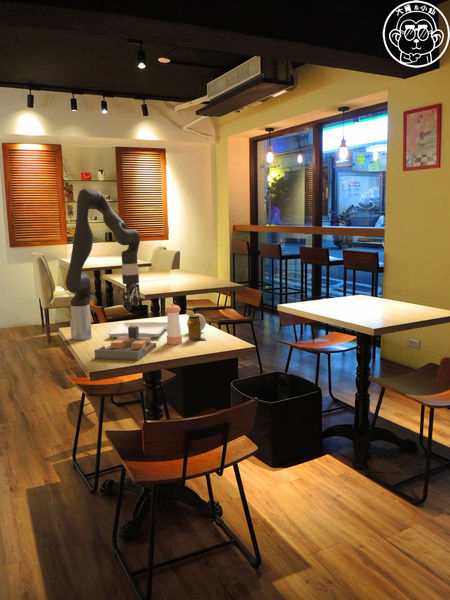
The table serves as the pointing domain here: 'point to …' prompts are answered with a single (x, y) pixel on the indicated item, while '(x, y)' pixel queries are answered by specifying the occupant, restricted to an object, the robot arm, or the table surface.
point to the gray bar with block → (134, 336)
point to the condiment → (194, 328)
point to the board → (129, 348)
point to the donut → (202, 321)
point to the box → (119, 354)
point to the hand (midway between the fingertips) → (132, 308)
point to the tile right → (138, 344)
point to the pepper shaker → (173, 325)
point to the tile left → (118, 343)
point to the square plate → (140, 329)
